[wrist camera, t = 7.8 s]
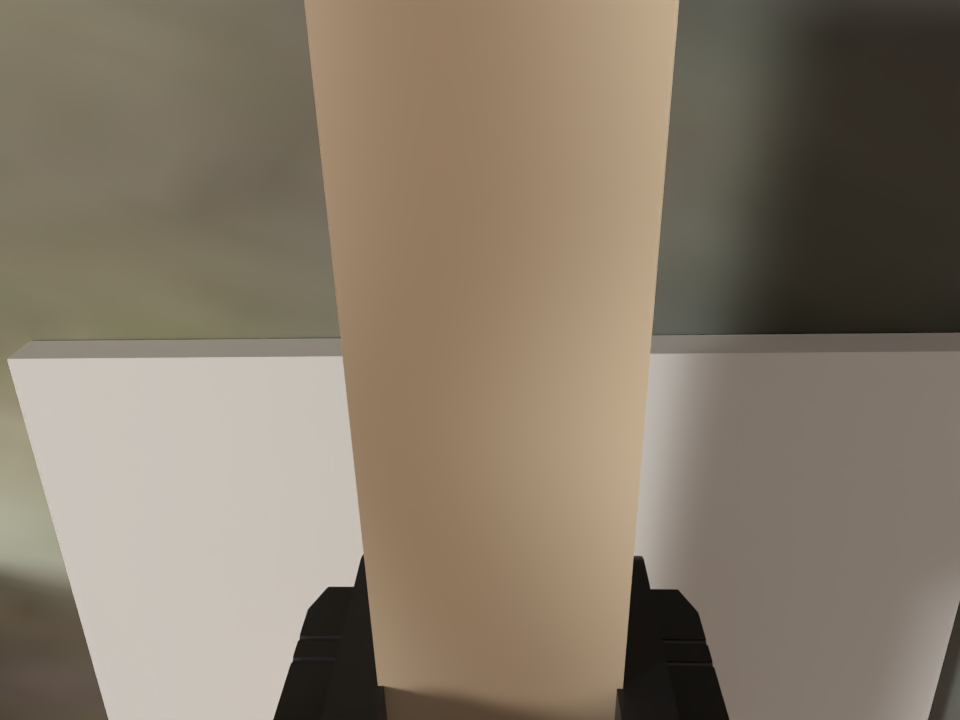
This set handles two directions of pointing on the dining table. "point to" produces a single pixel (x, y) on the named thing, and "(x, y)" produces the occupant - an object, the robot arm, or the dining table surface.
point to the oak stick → (495, 332)
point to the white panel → (659, 528)
